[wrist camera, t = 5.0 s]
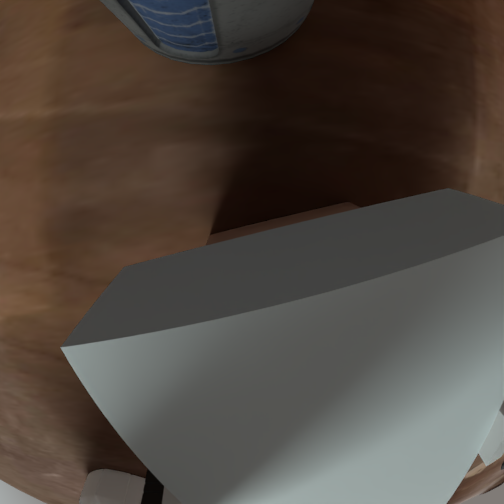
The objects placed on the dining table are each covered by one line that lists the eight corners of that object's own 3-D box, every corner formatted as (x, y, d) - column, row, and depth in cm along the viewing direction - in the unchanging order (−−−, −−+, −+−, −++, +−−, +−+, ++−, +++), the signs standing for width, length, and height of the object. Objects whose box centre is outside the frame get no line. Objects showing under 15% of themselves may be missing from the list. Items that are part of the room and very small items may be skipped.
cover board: (124, 266, 8) (60, 347, 5) (448, 188, 8) (544, 219, 4) (250, 503, 13) (254, 560, 9) (419, 456, 13) (443, 506, 9)
